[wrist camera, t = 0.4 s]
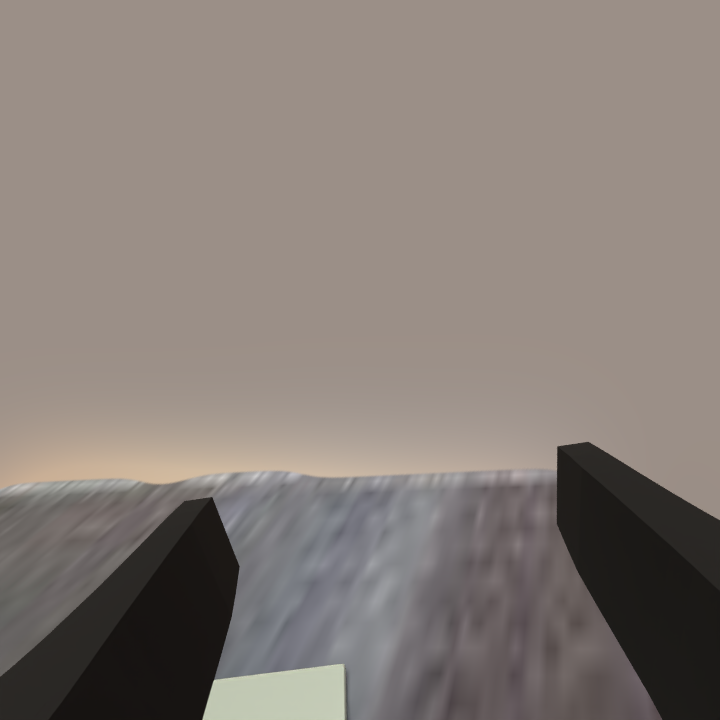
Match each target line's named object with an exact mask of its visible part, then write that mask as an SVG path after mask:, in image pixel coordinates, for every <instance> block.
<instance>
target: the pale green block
mask: <svg viewBox="0 0 720 720" xmlns="http://www.w3.org/2000/svg"><path fill="white" fill-rule="evenodd" d="M203 720H347V706H346V668H345V665H344V664H338V665H330V666H322V667H314V668H306V669H298V670H290V671H282V672H274V673H266V674H258V675H250V676H242V677H234V678H226V679H218V680H214V681H213V685H212V688H211V692H210V695H209V699H208V702H207V706H206V709H205V713H204V716H203Z"/></svg>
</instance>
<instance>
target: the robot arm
mask: <svg viewBox="0 0 720 720" xmlns="http://www.w3.org/2000/svg"><path fill="white" fill-rule="evenodd" d="M557 525H558V527H559V530H560V532H561V534H562V537H563V539H564V541H565V544H566V546H567V549H568V551H569V553H570V555H571V558H572V560H573V562H574V564H575V566H576V569H577V571H578V573H579V575H580V576H581V578H582V580H583V582H584V583H585V585H586V587H587V589H588V590H589V592H590V594H591V596H592V597H593V599H594V601H595V603H596V604H597V606H598V608H599V610H600V611H601V613H602V615H603V616H604V618H605V620H606V622H607V623H608V625H609V627H610V628H611V630H612V632H613V634H614V635H615V637H616V639H617V640H618V642H619V644H620V646H621V647H622V649H623V651H624V652H625V654H626V656H627V658H628V659H629V661H630V663H631V664H632V666H633V668H634V670H635V671H636V673H637V675H638V676H639V678H640V680H641V682H642V683H643V685H644V687H645V688H646V690H647V692H648V694H649V695H650V697H651V699H652V701H653V703H654V705H655V706H656V708H657V710H658V712H659V714H660V716H661V718H662V719H663V720H720V520H718V519H716V518H714V517H713V516H711V515H709V514H707V513H706V512H704V511H702V510H701V509H699V508H697V507H695V506H694V505H692V504H690V503H688V502H687V501H685V500H683V499H682V498H680V497H678V496H676V495H675V494H673V493H672V492H670V491H668V490H667V489H665V488H663V487H662V486H660V485H658V484H656V483H655V482H653V481H652V480H650V479H648V478H647V477H645V476H644V475H642V474H640V473H639V472H637V471H635V470H634V469H632V468H631V467H629V466H627V465H626V464H624V463H622V462H621V461H619V460H618V459H616V458H614V457H613V456H611V455H610V454H608V453H606V452H604V451H603V450H601V449H600V448H598V447H596V446H595V445H593V444H591V443H589V442H585V443H578V444H571V445H564V446H558V447H557ZM238 574H239V564H238V562H237V559H236V556H235V554H234V551H233V549H232V546H231V544H230V541H229V539H228V536H227V534H226V531H225V528H224V526H223V523H222V521H221V518H220V516H219V513H218V511H217V508H216V506H215V503H214V500H213V498H212V497H210V498H203V499H196V500H190V501H184V502H183V503H182V504H181V505H180V506H179V507H178V508H177V509H176V510H175V511H174V512H173V513H171V514H170V515H169V516H168V517H167V518H166V519H165V520H164V521H163V522H162V523H161V524H160V525H159V526H158V528H157V529H156V530H155V531H154V532H153V533H152V534H151V535H150V536H149V537H148V538H147V539H146V540H145V541H144V542H143V543H142V544H141V545H140V546H139V547H138V548H137V549H136V550H135V551H134V552H133V553H132V554H131V555H130V556H129V557H128V558H127V559H126V560H125V561H124V562H123V563H122V564H121V565H120V566H119V567H118V568H117V569H116V570H115V571H114V572H113V573H112V574H111V575H110V576H109V577H108V578H107V579H106V580H105V581H104V582H103V583H102V584H101V585H100V586H99V587H98V588H97V589H96V590H95V591H94V592H93V593H92V594H91V595H90V596H89V597H88V598H87V599H86V600H84V601H83V602H82V603H81V604H80V605H79V606H78V607H77V608H76V609H75V610H74V611H73V612H72V613H71V614H70V615H69V616H68V617H67V618H65V619H64V620H63V621H62V622H61V623H60V624H59V625H58V626H57V627H56V628H55V629H54V630H53V631H52V632H51V633H50V634H49V635H47V636H46V637H45V638H44V639H43V640H42V641H41V642H40V643H39V644H38V645H36V646H35V647H34V648H33V649H32V650H31V651H30V652H29V653H27V654H26V655H25V656H24V657H23V658H22V659H21V660H19V661H18V662H17V663H16V664H15V665H14V666H13V667H11V668H10V669H9V670H8V671H7V672H5V673H4V674H3V675H2V676H1V677H0V720H203V716H204V713H205V709H206V706H207V702H208V699H209V695H210V692H211V688H212V685H213V681H214V678H215V674H216V671H217V667H218V664H219V660H220V657H221V653H222V650H223V646H224V643H225V639H226V635H227V632H228V628H229V624H230V621H231V617H232V611H233V606H234V600H235V594H236V587H237V581H238Z"/></svg>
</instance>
